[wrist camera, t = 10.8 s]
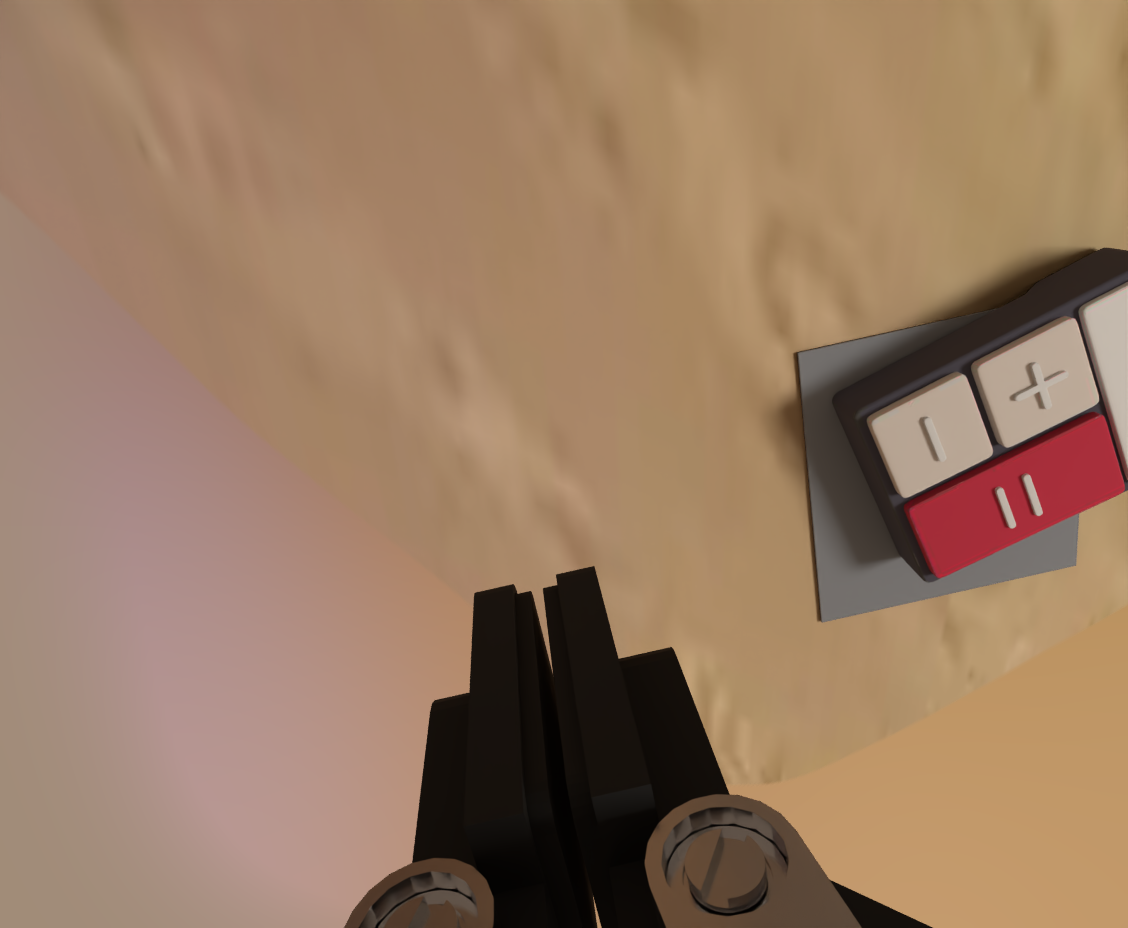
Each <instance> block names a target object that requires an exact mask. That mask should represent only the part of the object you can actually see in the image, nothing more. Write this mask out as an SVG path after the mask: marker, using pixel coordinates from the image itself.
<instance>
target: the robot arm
mask: <svg viewBox="0 0 1128 928" xmlns="http://www.w3.org/2000/svg"><path fill="white" fill-rule="evenodd" d="M556 578H557V585H555V586H551V587H547V588H543V593H544V602H545V610H546V618H547V627H548V635H549V643H550V652H551V660H552V668H553V673H552V669H551V665H550V661H549V657H548V654H547V650H546V646H545V642H544V638H543V634H542V630H541V626H540V622H539V618H538V614H537V610H536V606H535V602H534V598H533V595H532V592H531V591H529V592H524V593H520V594H517V591H516V588H515V586H514V584H512V585H508V586H503V587H499V588H494V589H490V590H485V591H481V592H476V593H475V594H474V608H473V630H472V651H471V674H470V693H466V694H461V695H457V696H452V697H447V698H443V699H439V700H435V701H434V702H433V703H432V706H431V711H430V718H429V726H428V735H427V744H426V751H425V760H424V769H423V777H422V785H421V794H420V803H419V811H418V819H417V828H416V836H415V844H414V853H413V861H412V863H411V864H409V865H407V866H405V867H403V868H401V869H399V870H397V871H395V872H393V873H391V874H389V875H388V876H387V877H385V878H384V879H383V880H382V881H381V882H379V883H378V884H377V885H375V886H374V887H373V888H372V889H370V890H369V891H368V893H367V894H366V895H365V896H364V897H363V899H362V900H361V901H360V902H359V904H358V905H357V906H356V907H355V909H354V910H353V911H352V913H351V915H350V917H349V919H348V921H347V923H346V925H345V927H344V928H597V922H596V914H595V907H594V900H595V904H596V908H597V911H598V916H599V919H600V923H601V926H602V928H932V927H930V926H928V925H926V924H924V923H921V922H919V921H917V920H915V919H913V918H911V917H909V916H906V915H904V914H902V913H900V912H898V911H896V910H893V909H891V908H889V907H887V906H885V905H883V904H881V903H878V902H876V901H874V900H872V899H870V898H868V897H865V896H863V895H861V894H859V893H857V892H855V891H853V890H851V889H848V888H846V887H844V886H842V885H840V884H838V883H835V882H833V881H831V880H829V879H828V877H827V875H826V874H825V872H824V871H823V870H822V868H821V867H820V865H819V864H818V862H817V861H816V859H815V858H814V856H813V855H812V853H811V852H810V850H809V849H808V847H807V846H806V844H805V843H804V841H803V840H802V838H801V837H800V835H799V834H798V832H797V831H796V830H795V829H794V828H793V827H792V825H791V824H790V823H789V822H788V821H787V820H786V819H785V818H784V817H783V816H782V814H780V813H779V812H777V811H776V810H774V809H772V808H771V807H769V806H767V805H766V804H764V803H762V802H761V801H757V800H753V799H750V798H747V797H743V796H740V795H730V794H729V792H728V789H727V787H726V784H725V781H724V779H723V776H722V774H721V771H720V768H719V766H718V763H717V761H716V758H715V755H714V753H713V750H712V748H711V745H710V742H709V740H708V737H707V734H706V732H705V729H704V727H703V724H702V721H701V719H700V716H699V714H698V711H697V708H696V706H695V703H694V701H693V698H692V695H691V693H690V690H689V688H688V685H687V682H686V680H685V677H684V674H683V672H682V669H681V667H680V664H679V661H678V659H677V656H676V654H675V652H674V649H673V648H672V647H670V648H665V649H661V650H656V651H652V652H647V653H643V654H638V655H634V656H630V657H625V658H621V659H618V655H617V651H616V648H615V644H614V640H613V636H612V632H611V628H610V624H609V621H608V617H607V613H606V609H605V605H604V601H603V598H602V594H601V590H600V586H599V582H598V578H597V575H596V571H595V567H594V566H592V567H588V568H583V569H579V570H575V571H570V572H566V573H561V574H557V575H556ZM553 676H554V677H553ZM593 897H594V900H593Z"/></svg>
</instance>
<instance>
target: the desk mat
mask: <svg viewBox="0 0 1128 928" xmlns="http://www.w3.org/2000/svg"><path fill="white" fill-rule="evenodd" d="M997 309H998V308H997ZM994 310H996V309H992V310H987V311H983V312H978V313H974V314H969V315H965V316H960V317H956V318H951V319H947V320H942V321H938V322H933V323H929V324H924V325H920V326H915V327H910V328H906V329H901V330H897V331H892V332H888V333H883V334H879V335H874V336H870V337H865V338H861V339H856V340H852V341H847V342H843V343H838V344H833V345H829V346H824V347H820V348H815V349H811V350H806V351H802V352H797V355H798V367H799V378H800V389H801V401H802V412H803V423H804V435H805V446H806V457H807V468H808V480H809V491H810V502H811V514H812V525H813V536H814V547H815V559H816V570H817V581H818V593H819V604H820V615H821V622H827V621H831V620H836V619H840V618H844V617H849V616H853V615H858V614H862V613H867V612H871V611H876V610H880V609H885V608H889V607H893V606H898V605H902V604H907V603H911V602H916V601H920V600H925V599H929V598H934V597H938V596H942V595H947V594H951V593H956V592H960V591H965V590H969V589H974V588H978V587H983V586H987V585H991V584H996V583H1000V582H1005V581H1009V580H1014V579H1018V578H1023V577H1027V576H1032V575H1036V574H1040V573H1045V572H1049V571H1054V570H1058V569H1063V568H1067V567H1072V566H1076V558H1077V541H1078V523H1079V514H1077V515H1075V516H1073V517H1071V518H1068V519H1066V520H1064V521H1062V522H1060V523H1058V524H1056V525H1054V526H1051V527H1049V528H1047V529H1045V530H1043V531H1041V532H1039V533H1037V534H1034V535H1032V536H1030V537H1028V538H1026V539H1024V540H1022V541H1020V542H1018V543H1015V544H1013V545H1011V546H1009V547H1007V548H1005V549H1003V550H1001V551H998V552H996V553H994V554H992V555H990V556H988V557H986V558H984V559H982V560H979V561H977V562H975V563H973V564H971V565H969V566H967V567H965V568H962V569H960V570H958V571H956V572H954V573H952V574H950V575H948V576H945V577H943V578H941V579H939V580H936V581H934V582H931V583H928V582H925V581H924V580H922V579H921V578H920V577H919V575H918V574H917V573H916V572H915V571H914V570H913V569H912V568H911V567H910V566H909V565H908V564H907V563H906V562H905V561H904V559H903V558H902V557H901V556H900V555H899V553H898V551H897V549H896V547H895V544H894V542H893V540H892V538H891V535H890V533H889V531H888V529H887V526H886V524H885V522H884V520H883V517H882V515H881V513H880V510H879V508H878V506H877V504H876V501H875V499H874V497H873V495H872V492H871V490H870V488H869V486H868V483H867V481H866V479H865V477H864V474H863V472H862V470H861V468H860V465H859V463H858V461H857V459H856V456H855V454H854V452H853V450H852V447H851V445H850V443H849V441H848V438H847V436H846V434H845V431H844V429H843V427H842V425H841V422H840V420H839V418H838V416H837V413H836V411H835V409H834V407H833V404H832V399H833V397H834V395H835V394H836V393H838V392H839V391H841V390H843V389H845V388H847V387H849V386H851V385H853V384H855V383H856V382H858V381H860V380H862V379H864V378H866V377H868V376H870V375H872V374H874V373H876V372H878V371H879V370H881V369H883V368H885V367H887V366H889V365H891V364H893V363H895V362H897V361H899V360H901V359H902V358H904V357H906V356H908V355H910V354H912V353H914V352H916V351H918V350H920V349H922V348H923V347H925V346H927V345H929V344H931V343H933V342H935V341H937V340H939V339H941V338H943V337H945V336H946V335H948V334H950V333H952V332H954V331H956V330H958V329H960V328H962V327H964V326H966V325H967V324H969V323H971V322H973V321H975V320H977V319H979V318H981V317H983V316H985V315H987V314H989V313H990V312H992V311H994Z"/></svg>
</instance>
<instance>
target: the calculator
mask: <svg viewBox="0 0 1128 928" xmlns="http://www.w3.org/2000/svg"><path fill="white" fill-rule="evenodd" d="M832 404H833V407H834V409H835V411H836V413H837V416H838V418H839V420H840V422H841V425H842V427H843V429H844V431H845V434H846V436H847V438H848V441H849V443H850V445H851V447H852V450H853V452H854V454H855V456H856V459H857V461H858V463H859V465H860V468H861V470H862V472H863V474H864V477H865V479H866V481H867V483H868V486H869V488H870V490H871V492H872V495H873V497H874V499H875V501H876V504H877V506H878V508H879V510H880V513H881V515H882V517H883V520H884V522H885V524H886V526H887V529H888V531H889V533H890V535H891V538H892V540H893V542H894V544H895V547H896V549H897V551H898V553H899V555H900V556H901V557H902V558H903V559H904V561H905V562H906V563H907V564H908V565H909V566H910V567H911V568H912V569H913V570H914V571H915V572H916V573H917V574H918V575H919V577H920V578H921V579H922V580H924V581H925V582H928V583H931V582H934V581H936V580H939V579H941V578H943V577H945V576H948V575H950V574H952V573H954V572H956V571H958V570H960V569H962V568H965V567H967V566H969V565H971V564H973V563H975V562H977V561H979V560H982V559H984V558H986V557H988V556H990V555H992V554H994V553H996V552H998V551H1001V550H1003V549H1005V548H1007V547H1009V546H1011V545H1013V544H1015V543H1018V542H1020V541H1022V540H1024V539H1026V538H1028V537H1030V536H1032V535H1034V534H1037V533H1039V532H1041V531H1043V530H1045V529H1047V528H1049V527H1051V526H1054V525H1056V524H1058V523H1060V522H1062V521H1064V520H1066V519H1068V518H1071V517H1073V516H1075V515H1077V514H1079V513H1081V512H1083V511H1085V510H1087V509H1090V508H1092V507H1094V506H1096V505H1098V504H1100V503H1102V502H1104V501H1107V500H1109V499H1111V498H1113V497H1115V496H1117V495H1119V494H1121V493H1123V492H1125V491H1127V490H1128V251H1126V250H1120V249H1113V248H1102V249H1100V250H1098V251H1096V252H1094V253H1092V254H1090V255H1088V256H1086V257H1084V258H1082V259H1081V260H1079V261H1077V262H1075V263H1073V264H1071V265H1069V266H1067V267H1065V268H1063V269H1061V270H1060V271H1058V272H1056V273H1054V274H1052V275H1050V276H1048V277H1046V278H1044V279H1042V280H1040V281H1039V282H1037V283H1036V284H1035V285H1034V286H1033V287H1032V288H1031V289H1030V290H1029V291H1028V292H1027V293H1026V294H1025V295H1023V296H1021V297H1019V298H1017V299H1015V300H1013V301H1012V302H1010V303H1008V304H1006V305H1004V306H1002V307H1000V308H998V309H996V310H994V311H992V312H990V313H989V314H987V315H985V316H983V317H981V318H979V319H977V320H975V321H973V322H971V323H969V324H967V325H966V326H964V327H962V328H960V329H958V330H956V331H954V332H952V333H950V334H948V335H946V336H945V337H943V338H941V339H939V340H937V341H935V342H933V343H931V344H929V345H927V346H925V347H923V348H922V349H920V350H918V351H916V352H914V353H912V354H910V355H908V356H906V357H904V358H902V359H901V360H899V361H897V362H895V363H893V364H891V365H889V366H887V367H885V368H883V369H881V370H879V371H878V372H876V373H874V374H872V375H870V376H868V377H866V378H864V379H862V380H860V381H858V382H856V383H855V384H853V385H851V386H849V387H847V388H845V389H843V390H841V391H839V392H838V393H836V394H835V395H834V397H833V399H832Z"/></svg>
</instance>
